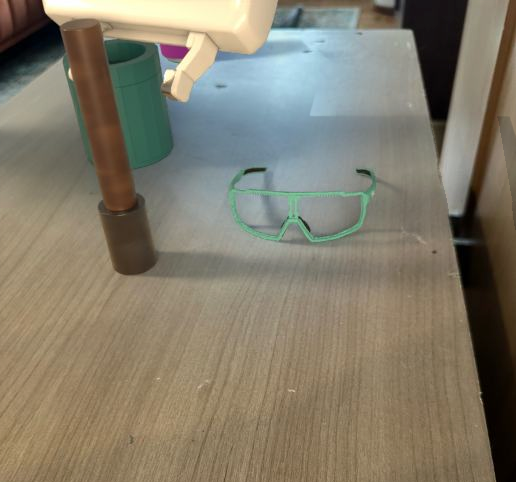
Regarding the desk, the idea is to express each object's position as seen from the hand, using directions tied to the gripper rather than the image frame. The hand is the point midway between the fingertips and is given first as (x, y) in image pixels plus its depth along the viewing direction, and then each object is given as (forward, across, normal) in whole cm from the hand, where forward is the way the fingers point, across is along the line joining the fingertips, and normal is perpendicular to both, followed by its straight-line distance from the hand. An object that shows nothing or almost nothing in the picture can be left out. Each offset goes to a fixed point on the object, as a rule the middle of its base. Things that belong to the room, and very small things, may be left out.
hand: (125, 90), depth 51 cm
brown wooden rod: (+12, 0, +8) cm, 15 cm away
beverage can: (-23, -30, +43) cm, 57 cm away
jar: (-1, -16, +21) cm, 26 cm away
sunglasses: (+2, +9, +19) cm, 21 cm away
